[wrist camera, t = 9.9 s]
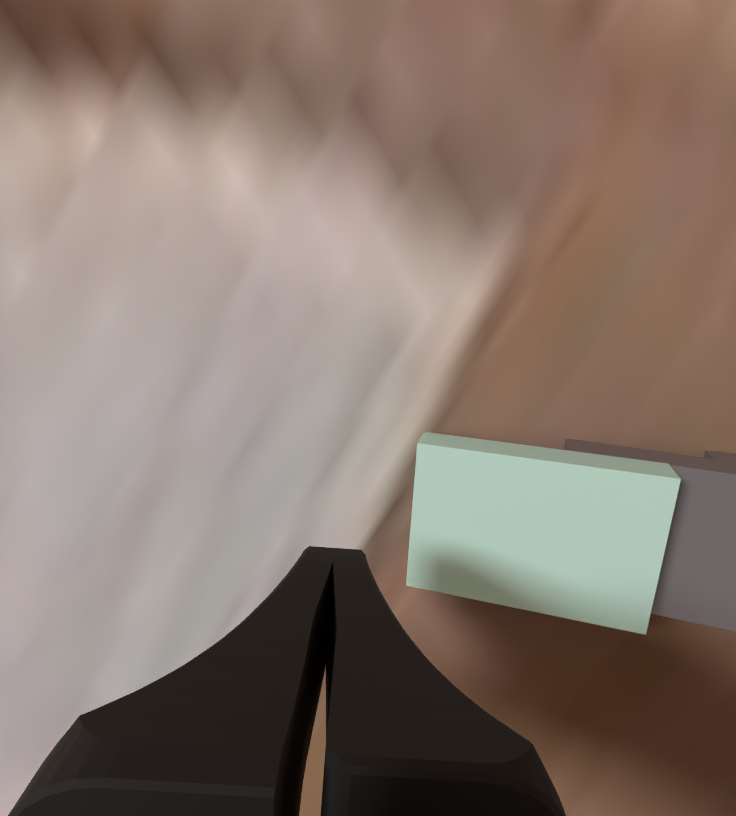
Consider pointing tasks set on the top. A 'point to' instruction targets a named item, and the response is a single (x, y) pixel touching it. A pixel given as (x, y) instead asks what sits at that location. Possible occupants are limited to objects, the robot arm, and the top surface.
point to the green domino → (540, 528)
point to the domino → (693, 537)
